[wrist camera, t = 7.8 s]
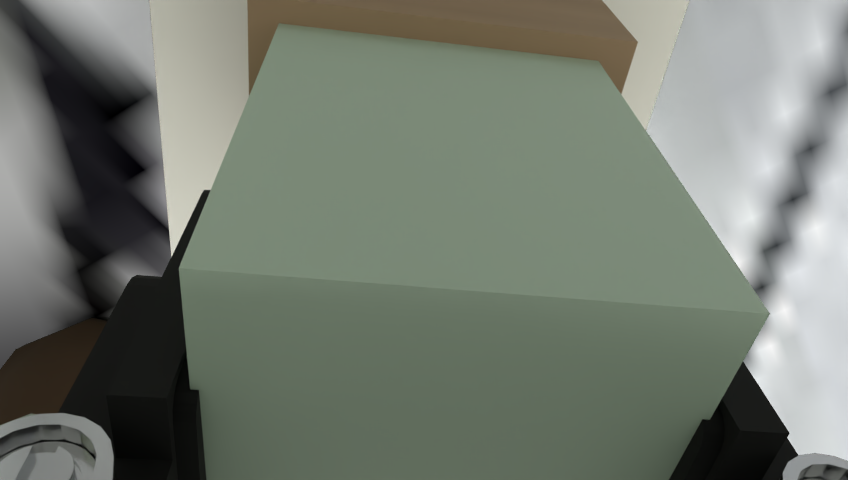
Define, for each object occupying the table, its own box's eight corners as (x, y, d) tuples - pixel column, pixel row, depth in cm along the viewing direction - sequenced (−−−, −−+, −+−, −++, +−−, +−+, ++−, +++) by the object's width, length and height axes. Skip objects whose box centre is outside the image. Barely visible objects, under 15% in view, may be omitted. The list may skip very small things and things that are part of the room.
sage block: (279, 23, 10) (178, 267, 5) (598, 60, 11) (769, 313, 6) (276, 280, 13) (209, 592, 8) (529, 299, 14) (605, 602, 9)
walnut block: (288, -75, 14) (246, -6, 10) (569, -38, 15) (637, 41, 11) (284, 176, 17) (252, 303, 13) (512, 197, 18) (547, 325, 14)
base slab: (162, -270, 14) (124, -279, 12) (701, -183, 16) (749, -179, 14) (193, 214, 21) (171, 261, 19) (571, 246, 22) (591, 294, 20)
